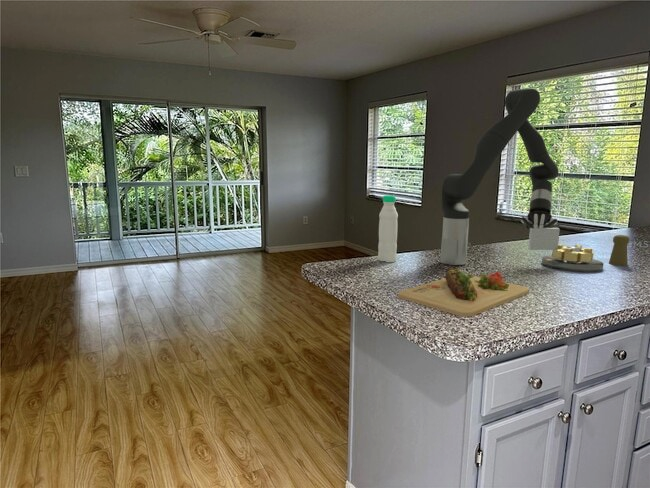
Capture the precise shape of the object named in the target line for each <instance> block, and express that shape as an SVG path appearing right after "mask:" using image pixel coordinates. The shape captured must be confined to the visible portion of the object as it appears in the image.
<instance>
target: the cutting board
mask: <svg viewBox="0 0 650 488" xmlns="http://www.w3.org/2000/svg"><path fill="white" fill-rule="evenodd" d="M529 293H530V289H529V287H527V286H523V285H519V284H514V283H508V282H505V281H504V279H503V275H502V274H501V273H500V272H499V271H498V270H497V271H496V272H492V273H490V274H489V275H487V274H485V273H481V274H480V276H476V275H474V274H473V273H470V274H467V273H465V272H464V273H463V272H462V270H459V269H458V268H455V269H449V270H447V271H445V277H444V278H442V279H438V280H434V281H431V282H428V283H424V284H421V285H417V286H414V287H409V288H406V289H403V290H399V291H398V293H397V298H398V297H399V298H398V299H402V300H405V301H408V302H413V303H415V304H416V303H417V304H418V305H423V306H426V307H430V308H432V309H435V310H436V309H437V310H439V311H442V312H446V313H450V314H453V315H455V316H459V317H473V316H476V315H478V314H481V313H483V312H485V311H489V310H491V309H493V308H495V307H498V306H501V305H503V304H505V303H508V302H511V301H512V300H513V301H514V300H515V299H518V298H520V297H521V298H522V296H526V295H527V294H529Z"/></svg>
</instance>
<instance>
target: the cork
mask: <svg viewBox="0 0 650 488" xmlns="http://www.w3.org/2000/svg"><path fill="white" fill-rule="evenodd" d="M612 241H613V247H612V250H611V253H610V258H609V261H608V264H609V265H613V266H621V267H622V266H623V267H626V266H628V265H629V264H628V244H629V243H630V241H631V239H630V237H629V236H628V235H624V234H623V235H622V234H617V235H614V236H613V237H612Z"/></svg>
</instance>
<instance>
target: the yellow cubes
mask: <svg viewBox="0 0 650 488" xmlns="http://www.w3.org/2000/svg"><path fill="white" fill-rule="evenodd" d="M560 231H561V229H560V228H559V227H553V228H539V227H538V228H530V231H529V236H528V246H527V249H528V250H529V251H552V254H551V255H552V257H553V258H557V259H560V260H565V261H574V262H577V261H579V262H591V261H592V260H593V259H594V253H595V251H594V250H593V248H591V247H590V248H589V247H585V248H583V245H582V244H574V245H573V246H575V247H580V252H572V248H567V246H564V245H563V244H559V240H560Z"/></svg>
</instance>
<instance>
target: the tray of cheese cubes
mask: <svg viewBox="0 0 650 488" xmlns="http://www.w3.org/2000/svg"><path fill="white" fill-rule="evenodd" d="M566 247H567V248H572V252H580V247H575V246H574V245H572V246H571V245H567V246H566ZM541 265H542V266H544V267H547V268H550V269H554V270H559V271H563V272H564V271H566V272H572V273H597V272H601V271H603V270H604V262H602V261H601V260H597V259H595V258H593V260H592V261H591V262H579V261H577V262H574V261H565V260H560V259H557V258H553V257H552V254H549V255H544V256H541Z"/></svg>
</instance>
